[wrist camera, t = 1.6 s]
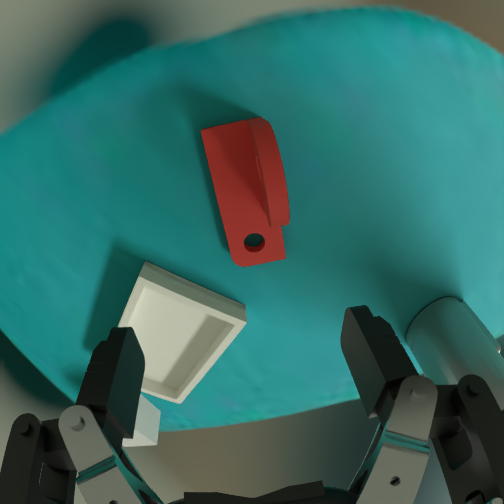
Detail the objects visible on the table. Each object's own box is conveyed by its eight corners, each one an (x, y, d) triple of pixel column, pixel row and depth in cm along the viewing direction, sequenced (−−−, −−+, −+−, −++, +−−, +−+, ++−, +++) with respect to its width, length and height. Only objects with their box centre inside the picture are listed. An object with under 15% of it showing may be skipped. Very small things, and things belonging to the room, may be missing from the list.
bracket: (201, 129, 21) (189, 145, 15) (260, 116, 21) (276, 127, 14) (234, 262, 27) (237, 321, 21) (283, 252, 27) (302, 309, 20)
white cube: (137, 389, 36) (130, 426, 31) (160, 410, 39) (157, 444, 34) (106, 395, 37) (98, 428, 32) (130, 415, 40) (125, 446, 35)
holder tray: (245, 305, 30) (247, 322, 28) (181, 388, 36) (180, 404, 34) (145, 260, 26) (138, 276, 24) (105, 360, 33) (100, 375, 31)
